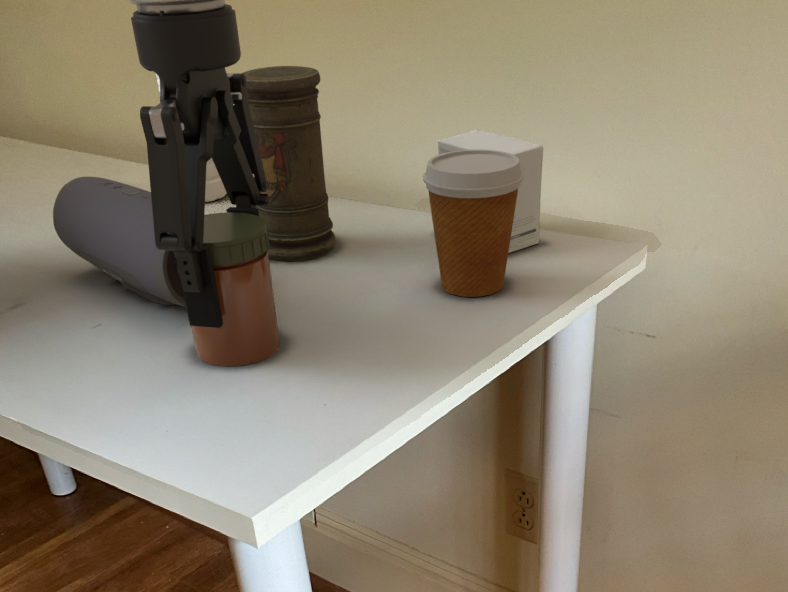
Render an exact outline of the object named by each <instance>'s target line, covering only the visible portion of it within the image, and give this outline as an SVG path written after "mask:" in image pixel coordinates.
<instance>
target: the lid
mask: <svg viewBox="0 0 788 592" xmlns="http://www.w3.org/2000/svg"><path fill="white" fill-rule="evenodd" d="M269 245H270V242H269V235H268V229H267V227H266V222H265V220H264V219H263V218H261V217H259V216H256V215H253V214H247V213H236V212H227V211H226V212H215V213H208V214H204V236H203V246H205V247H210V250H211V256H212V262H213V266H222V265H230V264H236V263H241V262H245V261H248V260H251V259H253V258H256V257H258V256H260V255H262V254H263V253H264V252H266V251H267V249H268V247H269ZM174 256H176V255H175V253H174Z"/></svg>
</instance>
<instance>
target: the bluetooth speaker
mask: <svg viewBox="0 0 788 592" xmlns="http://www.w3.org/2000/svg"><path fill="white" fill-rule="evenodd" d="M52 221H53V227H54V230H55V233H56V235H57V236H58V238H59V240H60V241H61V242H62V243H63V244H64V246H65V247H67V248H68V249H69V250H70V251H72V253H73V254H76V255H77V256H78V257H80V258H81V259H83V260H84V261H86V262H87V263H89V264H91V265H92V266H94V267H95V268H97V269H99V270H100V271H102V272H104V273H105V274H106V275H108V276H109V277H111V278H112V279H114V280H116V281H119V282H120V284H121V285H122V286H123V287H124V288H126V289H127V290H129V291H130V292H133V293H135V294H137V295H139V296H141V297H143V298H145V299H147V300H149V301H150V302H153V303H156V304H159V305H164V306H174V305H177V306H181V307H184V308H186V303H185V298H184V293H183V288H182V283H181V278H180V273H179V268H178V263H177V258H176V256H174V251H171V250H158V249H157V247H156V244H155V235H154V223H153V211H152V200H151V191H149V190H145V189H142V188H140V187H137V186H133V185H130V184H127V183H123V182H120V181H116V180H112V179H110V178H109V179H108V178H106V177H105V178H104V177H98V176H80V177H76V178H73V179H71V180H70V181H68V182H67V183H65V184H64V185H63V186H62V187H61V188H60V189H59V191H58V194H57V195H56V197H55V200H54V204H53V209H52Z"/></svg>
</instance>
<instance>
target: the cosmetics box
mask: <svg viewBox="0 0 788 592" xmlns="http://www.w3.org/2000/svg"><path fill="white" fill-rule="evenodd" d="M437 146H438V147H437V149H438V151H437V152H438V155H439V154H443V153H447V152H452V151H460V150H495V151H502V152H507V153H510V154H513V155H515V156H517V157H518V158H519V161H520V167H521V170H522V171H523V172H524V178H523V180H522V181H521V185H520V187H519V188H518V194H517V200H516V206H515V213H514V219H513V226H512V232H511V239H510V246H509V252H508V254H510V253H512V252H513V253H514V252H516V251H519V250H522V249H525V248H529V247H531V246H534V245H537V244H540V224H541V223H540V222H541V219H540V218H541V196H542V178H543V177H542V176H543V175H542V174H543V161H544V159H543V158H544V145H542V144H538V143H534V142H531V141H527V140H522V139H519V138H515V137H511V136H509V135H503V134H500V133H496V132H493V131H492V132H491V131H489V130H483V129H479V128H478V129H475V130H470V131H468V132H463V133H460V134H456V135H453V136H448V137H445V138H442V139H439V140H437Z"/></svg>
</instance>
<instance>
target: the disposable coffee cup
mask: <svg viewBox="0 0 788 592" xmlns="http://www.w3.org/2000/svg"><path fill="white" fill-rule="evenodd" d="M426 164H427V165H426V170H425V172H424V173H423V175H422V180H423V182H424V184H425V187H426V190H427V191H428V199H429V206H430V213H431V220H432V226H433V234H434V240H435V241H434V242H435V248H436V255H437V263H438V269H439V276H440V284H441V289H442V290H443V291H445V292H446V293H447V294H451V295H454V296H458V297H466V298H467V297H468V298H469V297H471V298H473V297H484V296H490V295H493V294H495V293H497V292H499V291H501V290H502V289H503V288H504V285H505V276H506V269H507V266H508V265H507V264H508V258H509V253H508V252H509V246H510V239H511V232H512V226H513V219H514V213H515V206H516V200H517V194H518V188H519V187H520V185H521V181H522V180H523V178H524V172H523V171H522V170H521V167H520V161H519V158H518V157H517V156H515V155H513V154H510V153H507V152H502V151H495V150H460V151H452V152H447V153H443V154H439V153H438V154H436V155H433V156H432V157H430V158H429V160H428V161H427V163H426Z"/></svg>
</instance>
